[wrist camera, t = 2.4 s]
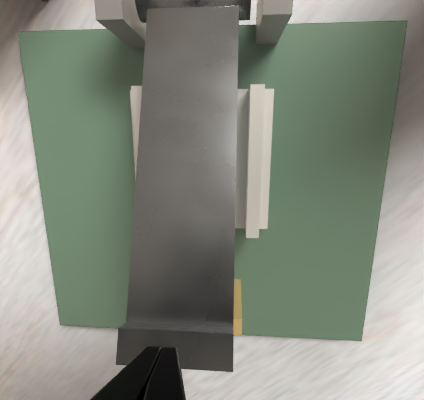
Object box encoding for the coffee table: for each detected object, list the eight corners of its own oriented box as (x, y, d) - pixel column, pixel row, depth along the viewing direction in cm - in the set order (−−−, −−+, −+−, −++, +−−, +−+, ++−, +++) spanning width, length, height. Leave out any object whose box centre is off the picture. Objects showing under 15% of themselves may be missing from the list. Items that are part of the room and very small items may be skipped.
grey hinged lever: (249, -3, 14) (251, -42, 12) (245, 351, 11) (247, 372, 9) (146, 1, 14) (133, -36, 12) (123, 344, 12) (101, 363, 10)
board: (397, 8, 16) (477, -51, 11) (354, 329, 21) (394, 396, 16) (29, 20, 18) (-59, -27, 13) (69, 315, 23) (18, 371, 18)
